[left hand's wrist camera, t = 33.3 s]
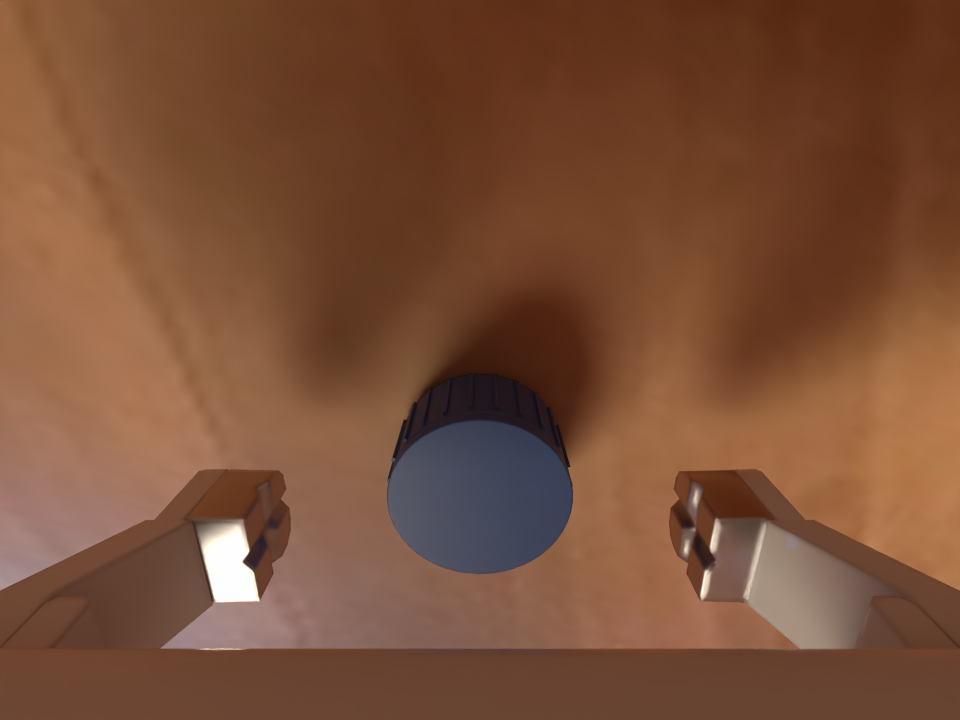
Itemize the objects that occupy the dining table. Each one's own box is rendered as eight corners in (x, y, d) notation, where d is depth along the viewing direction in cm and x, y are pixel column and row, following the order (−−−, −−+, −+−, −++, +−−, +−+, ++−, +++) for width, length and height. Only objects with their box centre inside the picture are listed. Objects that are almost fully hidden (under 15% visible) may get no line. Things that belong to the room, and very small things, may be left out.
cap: (367, 430, 12) (343, 485, 10) (497, 338, 11) (501, 378, 9) (465, 534, 13) (462, 604, 11) (590, 457, 12) (612, 517, 10)
